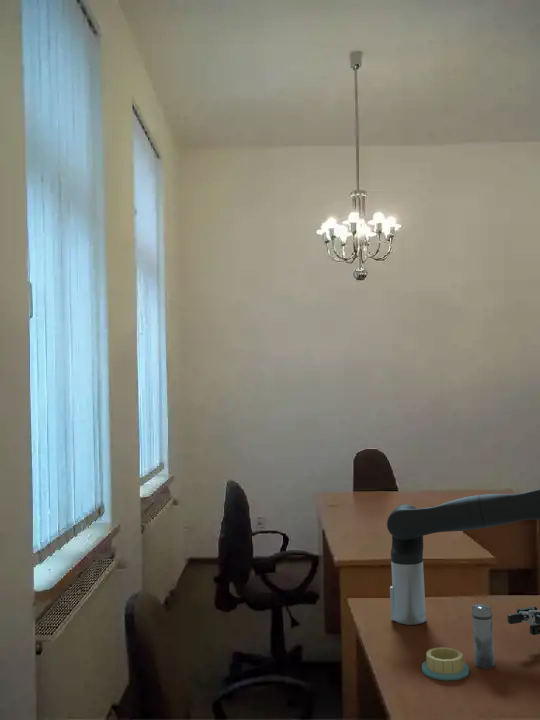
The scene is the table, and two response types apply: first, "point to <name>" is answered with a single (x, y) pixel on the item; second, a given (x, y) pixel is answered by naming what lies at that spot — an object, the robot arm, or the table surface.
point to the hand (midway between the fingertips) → (519, 624)
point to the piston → (483, 636)
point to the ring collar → (445, 664)
